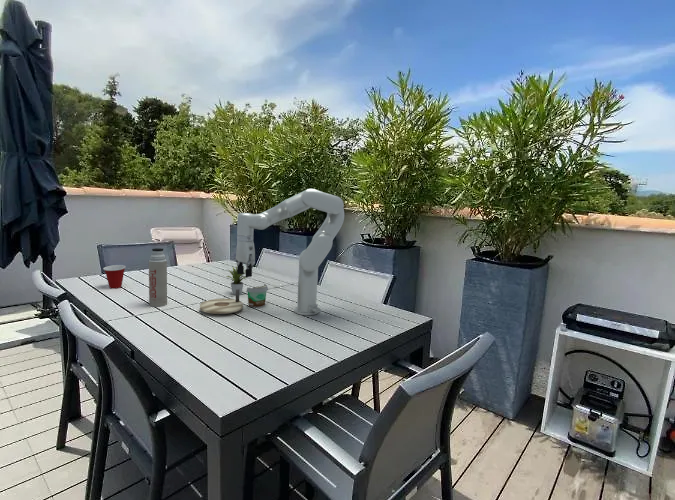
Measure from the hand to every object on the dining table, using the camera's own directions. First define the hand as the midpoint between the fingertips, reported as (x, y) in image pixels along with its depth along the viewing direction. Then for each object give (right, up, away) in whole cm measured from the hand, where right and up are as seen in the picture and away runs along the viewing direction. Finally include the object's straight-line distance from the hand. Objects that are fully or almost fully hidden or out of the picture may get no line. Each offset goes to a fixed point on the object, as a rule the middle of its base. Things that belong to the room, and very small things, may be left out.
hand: (244, 275), depth 176 cm
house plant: (-12, -13, +30) cm, 35 cm away
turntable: (-11, -17, 0) cm, 21 cm away
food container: (+5, -17, +11) cm, 21 cm away
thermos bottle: (-44, -15, +4) cm, 46 cm away
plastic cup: (-81, -9, +29) cm, 87 cm away
